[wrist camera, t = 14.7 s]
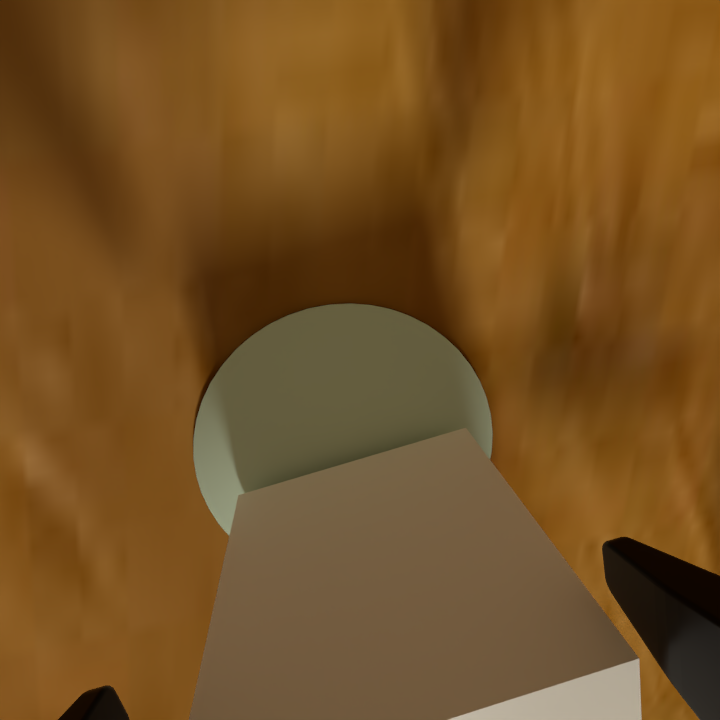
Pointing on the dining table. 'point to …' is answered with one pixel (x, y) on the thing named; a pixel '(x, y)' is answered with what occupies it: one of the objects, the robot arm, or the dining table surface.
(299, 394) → the disc
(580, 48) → the dining table surface
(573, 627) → the white block
